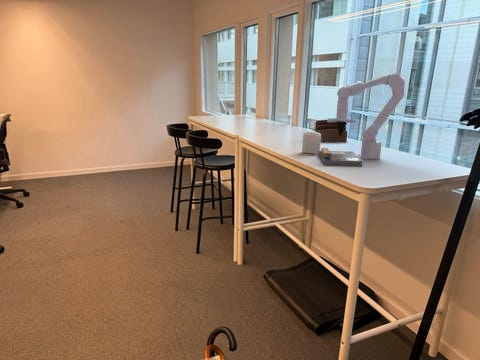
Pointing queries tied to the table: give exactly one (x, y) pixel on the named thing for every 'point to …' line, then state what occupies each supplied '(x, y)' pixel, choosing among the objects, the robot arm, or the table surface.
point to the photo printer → (311, 142)
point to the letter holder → (329, 131)
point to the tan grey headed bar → (326, 152)
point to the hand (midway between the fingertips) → (340, 135)
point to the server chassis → (341, 159)
